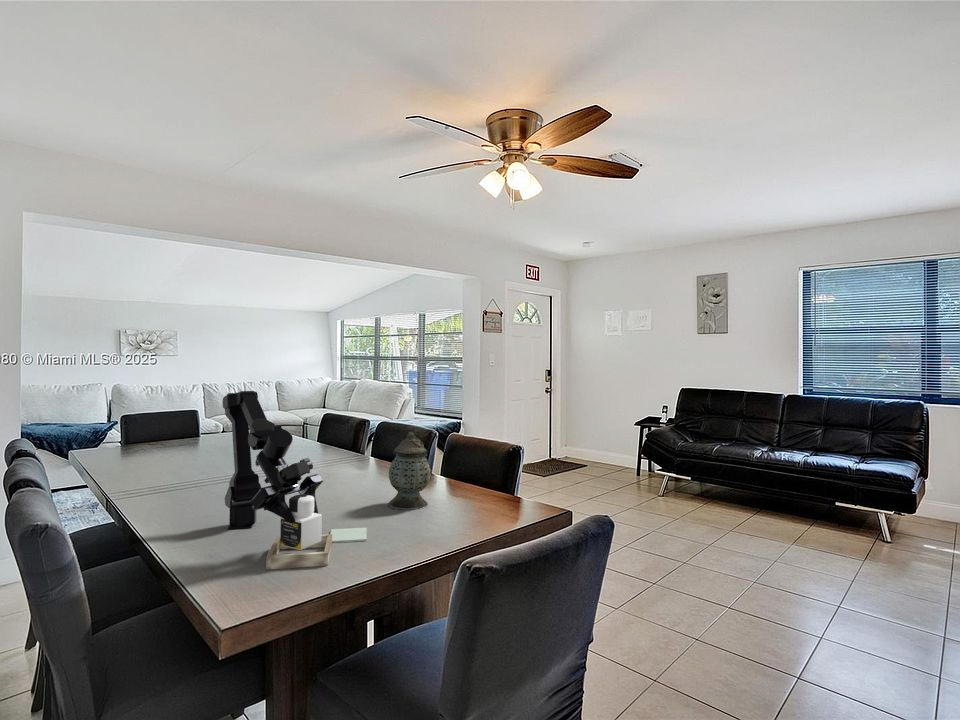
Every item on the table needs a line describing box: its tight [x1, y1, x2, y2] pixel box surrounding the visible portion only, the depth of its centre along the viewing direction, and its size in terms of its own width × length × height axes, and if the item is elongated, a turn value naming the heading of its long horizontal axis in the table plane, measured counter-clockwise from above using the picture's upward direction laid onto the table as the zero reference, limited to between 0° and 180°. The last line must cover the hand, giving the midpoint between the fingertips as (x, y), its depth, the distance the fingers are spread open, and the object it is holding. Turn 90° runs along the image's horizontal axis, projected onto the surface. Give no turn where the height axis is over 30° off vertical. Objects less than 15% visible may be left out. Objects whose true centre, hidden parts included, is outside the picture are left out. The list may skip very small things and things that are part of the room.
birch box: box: [265, 533, 333, 570], centre depth 133 cm, size 14×14×3 cm
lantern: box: [387, 431, 432, 511], centre depth 181 cm, size 14×14×25 cm
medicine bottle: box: [279, 494, 323, 551], centre depth 133 cm, size 7×7×12 cm
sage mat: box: [329, 527, 368, 544], centre depth 149 cm, size 10×10×1 cm
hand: (305, 518), depth 132 cm, fingers closed on medicine bottle, 7 cm apart
